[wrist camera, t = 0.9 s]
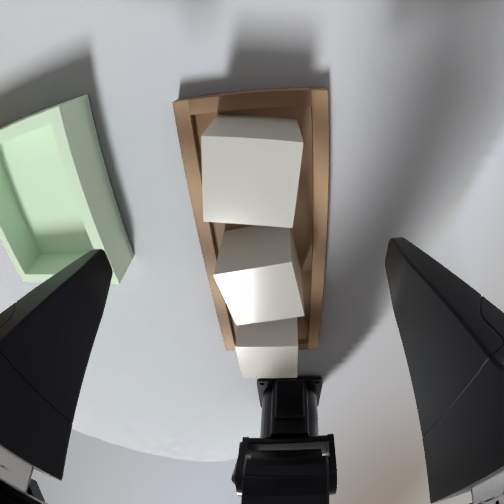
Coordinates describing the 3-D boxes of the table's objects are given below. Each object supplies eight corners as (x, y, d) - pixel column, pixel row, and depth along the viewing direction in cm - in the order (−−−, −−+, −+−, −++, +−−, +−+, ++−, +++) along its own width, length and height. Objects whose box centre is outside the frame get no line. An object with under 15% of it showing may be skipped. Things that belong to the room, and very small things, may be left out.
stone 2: (289, 189, 17) (292, 228, 14) (217, 183, 18) (203, 221, 14) (296, 119, 15) (303, 142, 12) (217, 114, 15) (201, 136, 12)
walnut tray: (316, 339, 26) (317, 348, 25) (227, 340, 27) (226, 350, 26) (324, 87, 14) (328, 90, 13) (177, 99, 15) (172, 102, 14)
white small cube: (301, 270, 21) (304, 316, 18) (242, 279, 22) (236, 325, 18) (289, 218, 19) (291, 261, 15) (223, 231, 19) (213, 275, 16)
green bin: (134, 255, 22) (119, 283, 19) (41, 258, 23) (23, 281, 20) (87, 94, 15) (58, 106, 12) (-9, 132, 16) (-36, 148, 13)
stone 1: (295, 335, 25) (297, 377, 22) (246, 336, 25) (242, 378, 22) (296, 301, 23) (298, 346, 19) (240, 302, 23) (235, 346, 20)
